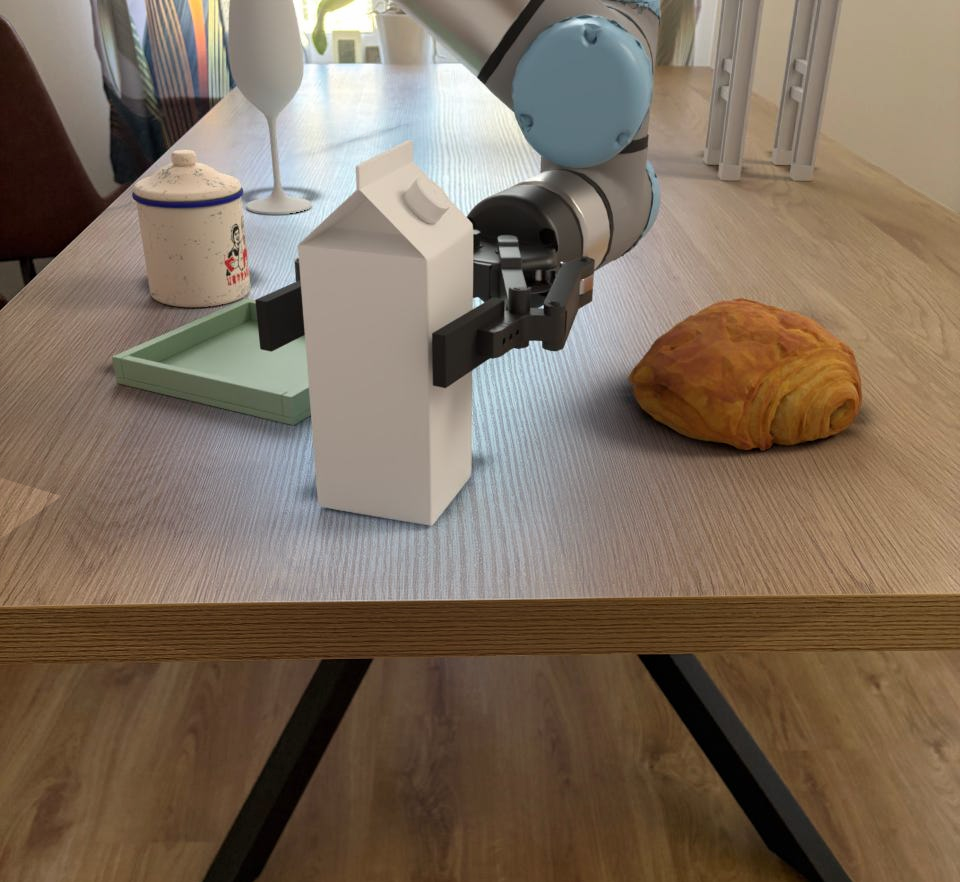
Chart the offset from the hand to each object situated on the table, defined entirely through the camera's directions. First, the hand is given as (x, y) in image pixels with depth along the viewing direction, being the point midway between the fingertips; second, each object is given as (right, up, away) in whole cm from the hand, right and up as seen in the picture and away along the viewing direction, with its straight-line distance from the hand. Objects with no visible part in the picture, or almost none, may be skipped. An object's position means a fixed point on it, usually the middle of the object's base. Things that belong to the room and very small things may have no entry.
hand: (348, 342), depth 58 cm
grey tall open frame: (+42, +44, +85) cm, 105 cm away
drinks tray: (-9, +5, +26) cm, 28 cm away
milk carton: (+2, -7, +9) cm, 12 cm away
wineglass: (-16, +33, +67) cm, 76 cm away
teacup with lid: (-18, +16, +42) cm, 48 cm away
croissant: (+24, 0, +20) cm, 32 cm away
